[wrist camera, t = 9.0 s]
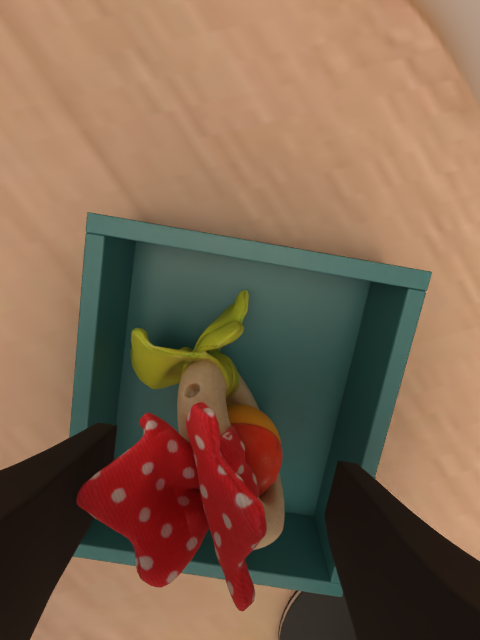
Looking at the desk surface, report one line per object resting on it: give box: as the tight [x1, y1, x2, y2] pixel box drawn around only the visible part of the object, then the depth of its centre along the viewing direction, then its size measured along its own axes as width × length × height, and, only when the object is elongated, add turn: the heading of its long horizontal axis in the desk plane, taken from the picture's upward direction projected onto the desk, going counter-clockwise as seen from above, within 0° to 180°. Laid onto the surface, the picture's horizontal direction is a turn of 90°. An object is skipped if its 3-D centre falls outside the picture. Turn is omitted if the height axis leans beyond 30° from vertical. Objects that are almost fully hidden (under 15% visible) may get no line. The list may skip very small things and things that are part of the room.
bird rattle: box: [76, 290, 285, 611], centre depth 14 cm, size 6×11×9 cm
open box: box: [69, 213, 432, 597], centre depth 17 cm, size 14×12×5 cm
